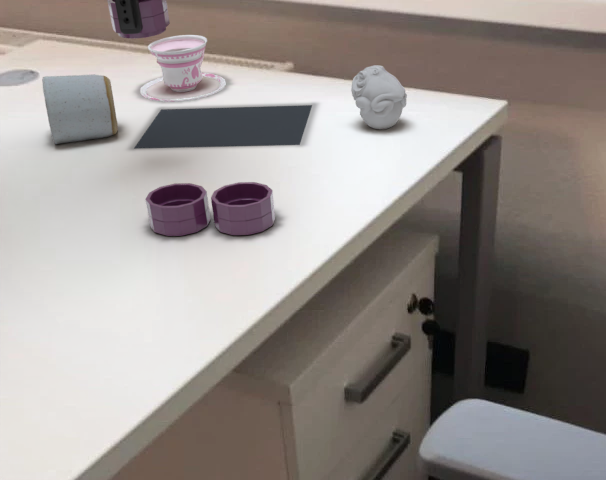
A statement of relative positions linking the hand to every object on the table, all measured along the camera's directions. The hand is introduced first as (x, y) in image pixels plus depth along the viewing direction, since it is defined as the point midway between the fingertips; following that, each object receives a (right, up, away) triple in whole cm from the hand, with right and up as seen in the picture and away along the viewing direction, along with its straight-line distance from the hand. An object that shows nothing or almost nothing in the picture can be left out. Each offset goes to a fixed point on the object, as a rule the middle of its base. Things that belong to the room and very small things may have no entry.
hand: (140, 23), depth 93 cm
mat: (+8, -5, +17) cm, 19 cm away
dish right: (+11, -23, -5) cm, 26 cm away
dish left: (0, -1, +1) cm, 1 cm away
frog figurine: (+26, -6, +14) cm, 30 cm away
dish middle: (+5, -23, -5) cm, 24 cm away
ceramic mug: (-10, -5, +18) cm, 22 cm away
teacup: (0, +5, +30) cm, 31 cm away
